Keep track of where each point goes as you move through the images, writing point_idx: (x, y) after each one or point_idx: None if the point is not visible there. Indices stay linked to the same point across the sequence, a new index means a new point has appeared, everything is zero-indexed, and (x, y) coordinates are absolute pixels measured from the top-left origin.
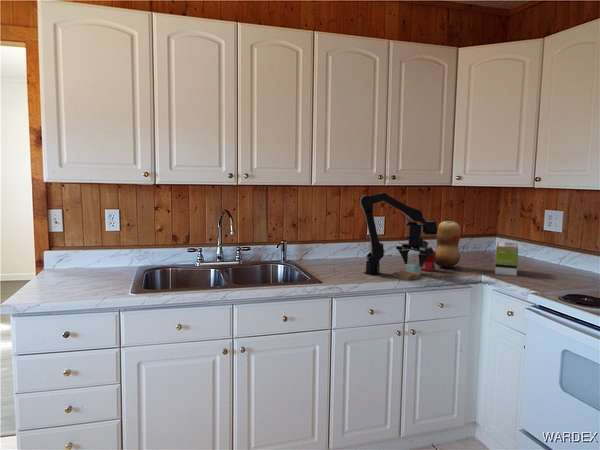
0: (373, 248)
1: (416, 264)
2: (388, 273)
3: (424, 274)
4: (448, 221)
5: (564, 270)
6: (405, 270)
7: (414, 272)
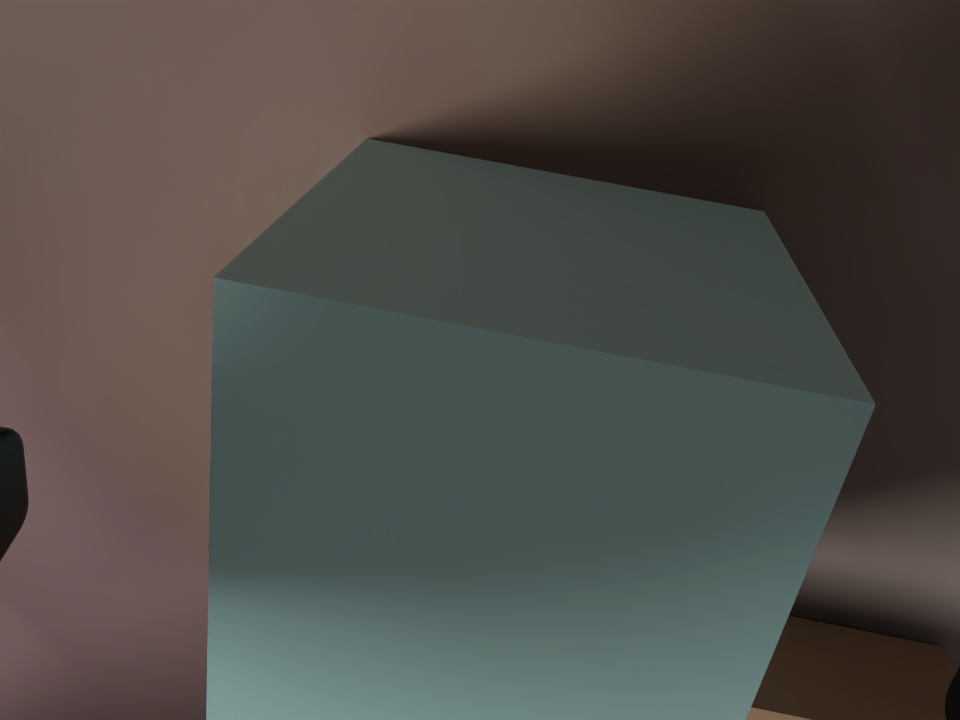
0: None
1: (581, 464)
2: (6, 695)
3: (890, 65)
4: None
5: None
6: None
7: None
